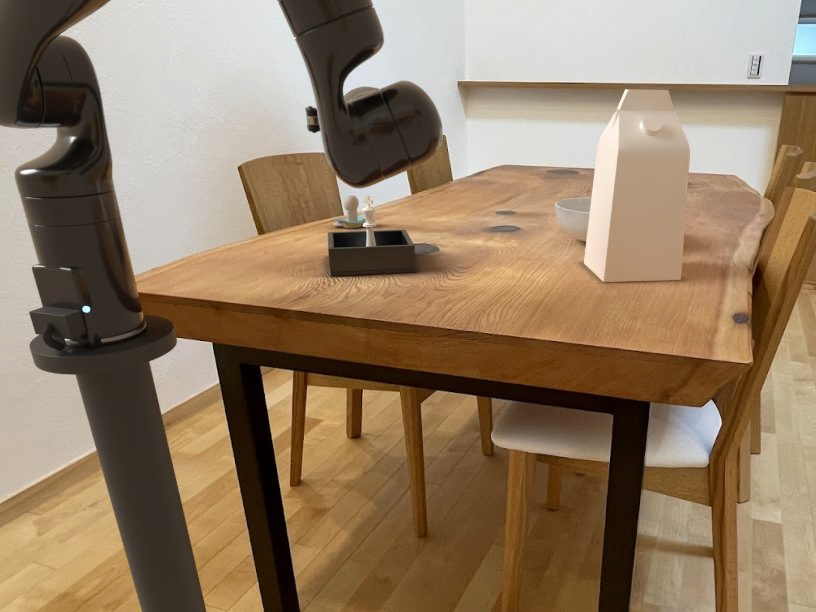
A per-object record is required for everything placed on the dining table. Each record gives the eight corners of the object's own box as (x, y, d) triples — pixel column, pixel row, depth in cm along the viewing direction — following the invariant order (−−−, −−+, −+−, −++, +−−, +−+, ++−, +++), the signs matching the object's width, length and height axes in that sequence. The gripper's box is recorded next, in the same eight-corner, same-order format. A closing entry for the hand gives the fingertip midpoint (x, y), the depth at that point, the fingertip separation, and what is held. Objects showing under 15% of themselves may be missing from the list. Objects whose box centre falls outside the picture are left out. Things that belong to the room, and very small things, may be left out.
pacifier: (327, 226, 133) (341, 230, 129) (324, 194, 131) (337, 197, 126) (360, 222, 137) (374, 226, 133) (357, 191, 135) (371, 194, 131)
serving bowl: (669, 258, 111) (674, 217, 109) (546, 252, 115) (547, 211, 112) (665, 234, 130) (669, 198, 127) (559, 229, 133) (561, 194, 131)
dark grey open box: (415, 272, 101) (414, 245, 99) (330, 276, 98) (328, 249, 96) (406, 253, 112) (405, 229, 110) (330, 257, 109) (327, 232, 107)
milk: (654, 261, 109) (672, 90, 99) (680, 279, 99) (704, 90, 88) (583, 263, 108) (594, 88, 97) (603, 282, 97) (617, 89, 87)
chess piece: (374, 266, 102) (369, 199, 97) (349, 261, 104) (343, 196, 100) (394, 259, 106) (390, 195, 101) (370, 255, 108) (365, 192, 104)
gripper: (434, 88, 73) (416, 86, 87) (299, 85, 70) (304, 84, 84) (436, 159, 76) (418, 147, 90) (307, 160, 73) (310, 146, 87)
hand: (363, 116), depth 87 cm, fingers open, 8 cm apart
